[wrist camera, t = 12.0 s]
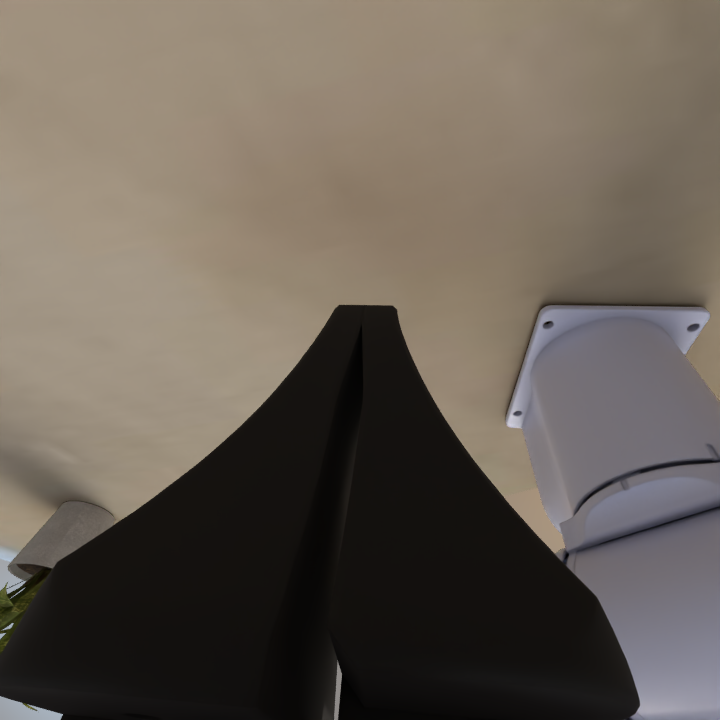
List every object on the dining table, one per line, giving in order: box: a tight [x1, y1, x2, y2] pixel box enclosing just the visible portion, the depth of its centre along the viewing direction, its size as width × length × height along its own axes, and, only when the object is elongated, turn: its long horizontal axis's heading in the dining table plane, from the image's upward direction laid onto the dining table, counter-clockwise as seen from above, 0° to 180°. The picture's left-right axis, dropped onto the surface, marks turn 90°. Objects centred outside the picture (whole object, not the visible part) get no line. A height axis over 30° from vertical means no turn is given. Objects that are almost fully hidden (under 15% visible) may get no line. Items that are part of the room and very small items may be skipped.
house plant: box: [0, 501, 115, 711], centre depth 35 cm, size 14×14×16 cm
